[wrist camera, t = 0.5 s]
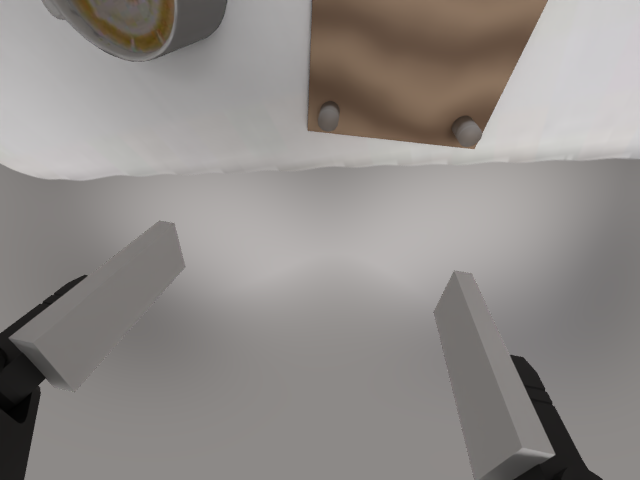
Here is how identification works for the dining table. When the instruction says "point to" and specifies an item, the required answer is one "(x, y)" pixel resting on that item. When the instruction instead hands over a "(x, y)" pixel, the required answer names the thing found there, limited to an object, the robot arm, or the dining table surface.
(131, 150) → the dining table surface
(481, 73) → the standoff board
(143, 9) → the coffee mug
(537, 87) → the dining table surface
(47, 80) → the dining table surface
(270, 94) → the dining table surface
